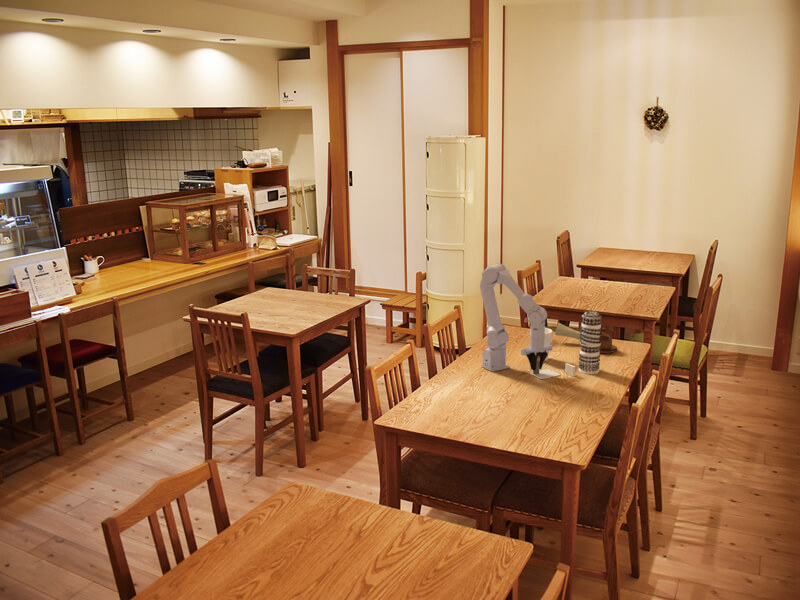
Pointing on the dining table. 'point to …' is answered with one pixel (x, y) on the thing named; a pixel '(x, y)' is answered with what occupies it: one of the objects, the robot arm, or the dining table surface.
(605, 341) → the cup and saucer
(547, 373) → the paper
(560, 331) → the flower vase
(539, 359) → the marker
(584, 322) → the decorative candle
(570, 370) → the rectangular block
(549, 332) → the foam cup
